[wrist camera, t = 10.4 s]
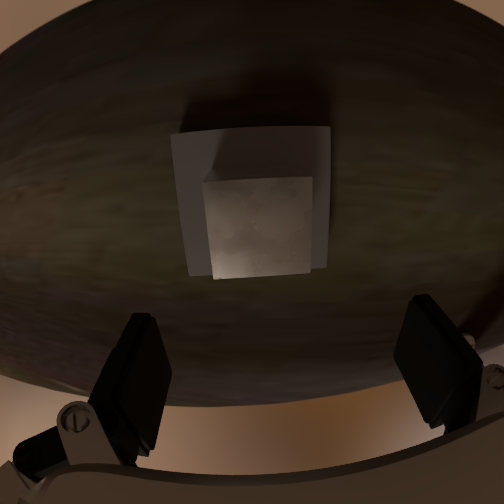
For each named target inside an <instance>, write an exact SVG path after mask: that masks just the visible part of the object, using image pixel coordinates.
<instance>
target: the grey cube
mask: <svg viewBox="0 0 504 504" xmlns="http://www.w3.org/2000/svg"><path fill="white" fill-rule="evenodd" d="M202 186H203V196H204V205H205V214H206V223H207V232H208V240H209V248H210V256H211V264H212V272H213V279H226V278H243V277H259V276H274V275H288V274H302V273H310V266H311V241H312V186H313V177H312V176H311V175H310V174H308V173H307V172H306V171H305V170H303V169H302V168H301V167H299V166H298V165H297V164H266V165H247V166H232V167H219V168H212V169H211V170H210V172H209V173H208V175H207V176H206V178H205V179H204V181H203V182H202Z"/></svg>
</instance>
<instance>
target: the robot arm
mask: <svg viewBox="0 0 504 504" xmlns="http://www.w3.org/2000/svg"><path fill="white" fill-rule="evenodd" d="M474 347H475V340H474V338H473V337H472V335H471V334H469V333H461V332H460V331H459V330H458V328H457V327H456V326H455V325H454V324H453V322H452V321H451V320H450V319H449V317H448V316H447V315H446V314H445V313H444V312H443V310H442V309H441V308H440V307H439V306H438V305H437V303H436V302H435V301H434V300H433V299H432V298H431V297H430V295H428V294H422V295H415V296H414V297H413V298H412V300H410V301H409V303H408V307H407V311H406V314H405V318H404V321H403V325H402V328H401V331H400V334H399V338H398V341H397V344H396V347H395V350H394V360H395V362H396V364H397V366H398V368H399V370H400V372H401V374H402V376H403V378H404V380H405V382H406V384H407V386H408V388H409V390H410V392H411V394H412V396H413V398H414V400H415V402H416V404H417V407H418V409H419V411H420V413H421V415H422V417H423V420H424V421H425V422H426V423H429V426H430V428H431V429H433V428H436V427H438V426H441V425H442V424H444V426H445V431H444V434H443V436H440V437H437V438H435V439H432V440H430V441H427V442H424V443H421V444H419V445H416V446H413V447H410V448H407V449H404V450H401V451H397V452H394V453H391V454H387V455H383V456H380V457H376V458H372V459H368V460H363V461H360V462H354V463H350V464H345V465H340V466H334V467H329V468H322V469H315V470H308V471H300V472H290V473H278V474H262V475H209V474H194V473H181V472H170V471H162V470H154V469H147V468H140V467H138V466H137V465H136V463H135V461H136V460H137V456H138V455H140V456H145V457H148V456H149V452H150V450H154V448H155V444H156V440H157V435H158V431H159V426H160V422H161V418H162V414H163V409H164V405H165V401H166V397H167V393H168V389H169V385H170V381H171V377H172V370H171V366H170V363H169V360H168V357H167V354H166V351H165V348H164V345H163V342H162V339H161V336H160V332H159V329H158V326H157V322H156V319H155V318H154V317H151V315H150V314H149V313H133V314H132V316H131V318H130V320H129V321H128V323H127V325H126V327H125V329H124V331H123V333H122V335H121V337H120V339H119V341H118V343H117V345H116V347H115V348H113V350H112V351H111V353H110V355H109V357H108V359H107V361H106V363H105V365H104V367H103V369H102V371H101V374H100V376H99V378H98V380H97V382H96V384H95V386H94V388H93V391H92V393H91V395H90V397H89V400H88V402H87V403H86V402H83V401H74V402H71V403H69V404H67V405H65V406H64V407H63V408H62V409H61V410H60V412H59V414H58V416H57V426H55V427H53V428H50V429H48V430H46V431H44V432H42V433H40V434H37V435H36V436H33V437H31V438H29V439H27V440H24V441H22V442H21V443H19V444H18V445H17V446H16V448H15V450H14V452H13V461H12V462H10V461H9V460H8V461H7V462H6V463H5V464H3V465H2V466H1V467H0V504H504V367H503V366H500V365H498V364H490V365H488V366H486V367H484V365H483V361H482V360H481V358H480V357H479V355H478V354H477V353H476V351H475V350H474Z"/></svg>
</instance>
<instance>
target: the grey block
mask: <svg viewBox="0 0 504 504" xmlns="http://www.w3.org/2000/svg"><path fill="white" fill-rule="evenodd" d="M171 146H172V156H173V165H174V174H175V183H176V191H177V199H178V207H179V214H180V221H181V228H182V235H183V241H184V247H185V254H186V260H187V266H188V271H189V276H202V275H213V272H212V264H211V256H210V248H209V240H208V232H207V223H206V214H205V205H204V196H203V186H202V182H203V181H204V179H205V178H206V176H207V175H208V173H209V172H210V170H211V169H212V168H219V167H232V166H247V165H266V164H297V165H298V166H299V167H301V168H302V169H303V170H305V171H306V172H307V173H308V174H310V175H311V176H312V177H313V186H312V241H311V266H310V269H314V268H326V264H327V250H328V233H329V212H330V176H331V134H330V127H329V126H260V127H240V128H226V129H214V130H204V131H194V132H186V133H178V134H172V135H171Z"/></svg>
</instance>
